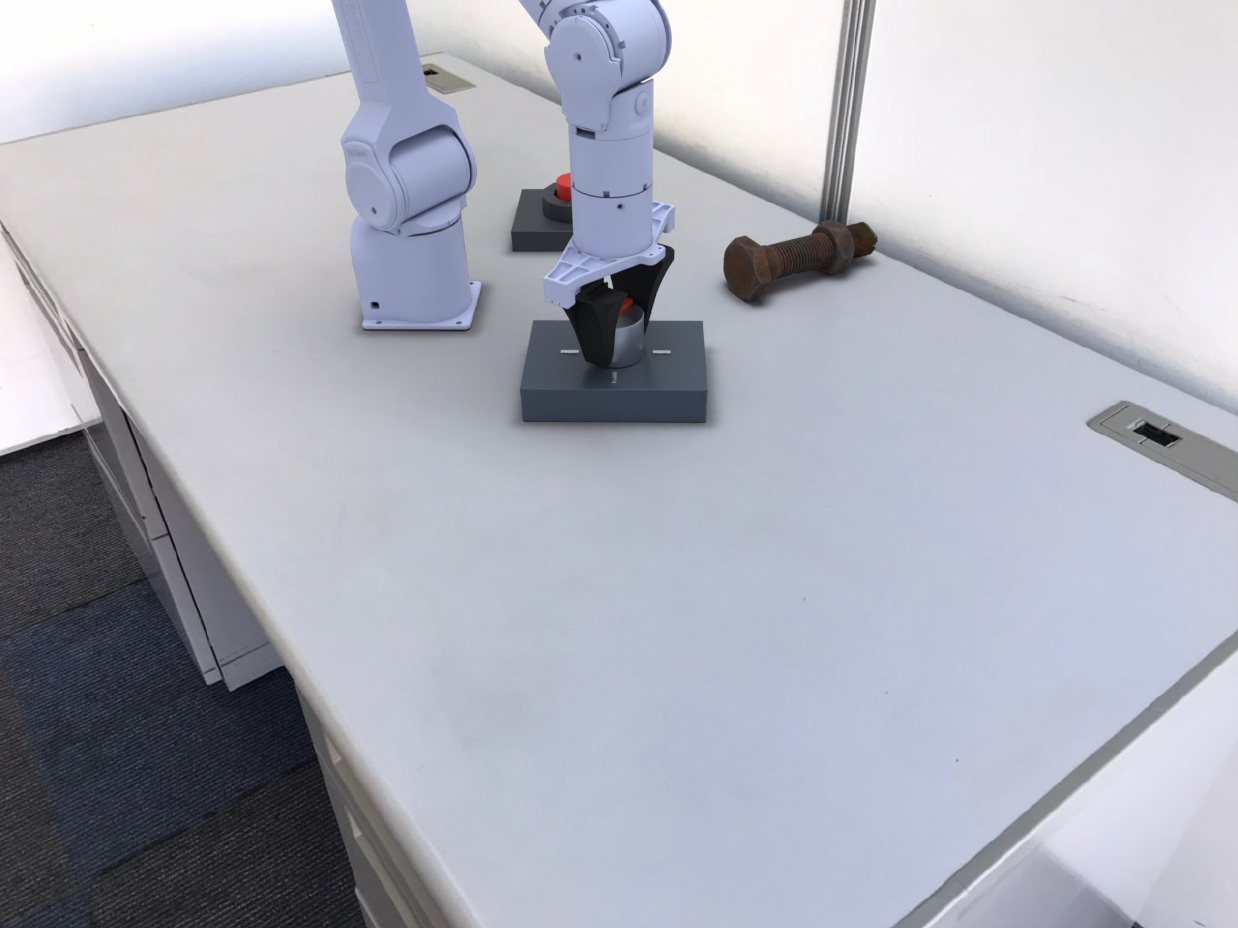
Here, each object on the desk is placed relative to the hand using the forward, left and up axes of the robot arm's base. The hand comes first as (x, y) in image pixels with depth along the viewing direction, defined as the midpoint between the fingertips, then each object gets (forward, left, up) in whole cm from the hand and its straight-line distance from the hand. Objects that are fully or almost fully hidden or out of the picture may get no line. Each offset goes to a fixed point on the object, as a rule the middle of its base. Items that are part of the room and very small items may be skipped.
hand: (615, 347), depth 78 cm
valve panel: (0, 0, -3) cm, 3 cm away
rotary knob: (0, 0, 0) cm, 0 cm away
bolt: (+17, +18, -4) cm, 25 cm away
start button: (-5, +28, 0) cm, 28 cm away
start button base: (-5, +28, -3) cm, 29 cm away
